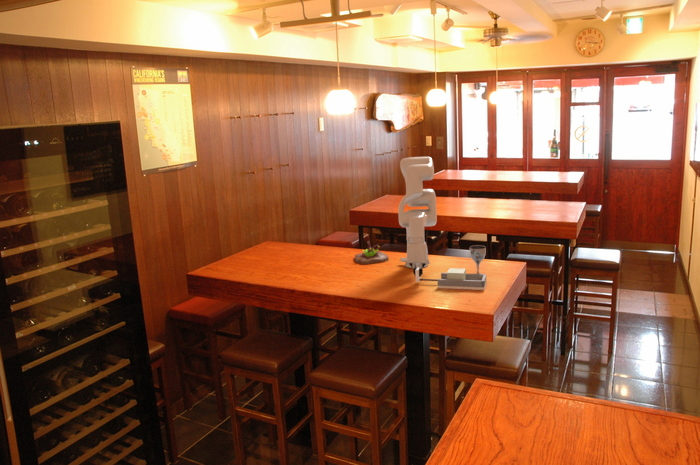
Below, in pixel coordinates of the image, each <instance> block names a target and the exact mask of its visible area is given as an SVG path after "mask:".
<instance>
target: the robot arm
mask: <svg viewBox="0 0 700 465" xmlns="http://www.w3.org/2000/svg"><path fill="white" fill-rule="evenodd" d="M399 167H400V171H401V173H402V176H403V178H404V182H405V195H404V196H403V197H402V198H401V200H400V201H399V204H398V214H397V215H398V223H399V226H400V227H402V228H405V229H406V257H400V259H399V260H400V262H401V263H404V266H405V267H406V268H410V269H412V270H413V275H414V277H416V274H415V270H416V269H417V268H419V276H420V277H421V278H422V275H423V274H424V273H423V271H424V270H423V269H424V268H426V267H427V266H429V265H430V263H431V262H430V260H429V252H428V245H427V242H426V241H425V227H433V226H436V224H437V221H438V219H437V217H438V213H437V196H436V192H435V190H434V189H432V188H424V185H423V181H432V180H433V179H434V176H435V166H434V160H433V158H432V157H430V156H411V157H404V158H402V159H401V160H400V162H399ZM406 205H407V206H408V207H412V209H409V210H406V211H404V210H405V206H406ZM413 207H414V208H415V207H416V208H417V209H416V208H415V209H413ZM420 207H421V208H420ZM422 207H427V208H422Z"/></svg>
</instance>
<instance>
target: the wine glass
mask: <svg viewBox="0 0 700 465" xmlns="http://www.w3.org/2000/svg"><path fill="white" fill-rule="evenodd" d="M486 249H487V247H486V246H485V245H479V244H476V245H470V246H469V253H470V254H469V255H470V258H471V260H472V261H473V262H474V263H475V264H476V273H474V274H482V273H481V272H480V264H481V263H482V261H483V260H484V259H485V256H486V253H487V252H486V251H487V250H486Z"/></svg>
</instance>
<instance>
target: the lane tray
mask: <svg viewBox="0 0 700 465" xmlns="http://www.w3.org/2000/svg"><path fill="white" fill-rule="evenodd" d="M437 280H438V281H437V289H448V290H449V289H452V290H455V289H456V290H474V291H475V290H479V291H485V289H486V284H487V273H481V274H475V273H466V280H451V279H447V272H441V273H440V278H438V279H437Z"/></svg>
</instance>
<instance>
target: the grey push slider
mask: <svg viewBox="0 0 700 465" xmlns="http://www.w3.org/2000/svg"><path fill="white" fill-rule="evenodd" d="M466 272H467V271H466V268H460V267H459V268H455V267H452V268H451V267H449V268H448V270H447V271H446V273H447V279H451V280H466ZM415 274H416V276H415V283H420V281H424V282H438V279H432V278H422V276H421V277H420V276H419V268H417V269H416V270H415ZM415 274H414V275H415Z"/></svg>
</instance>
